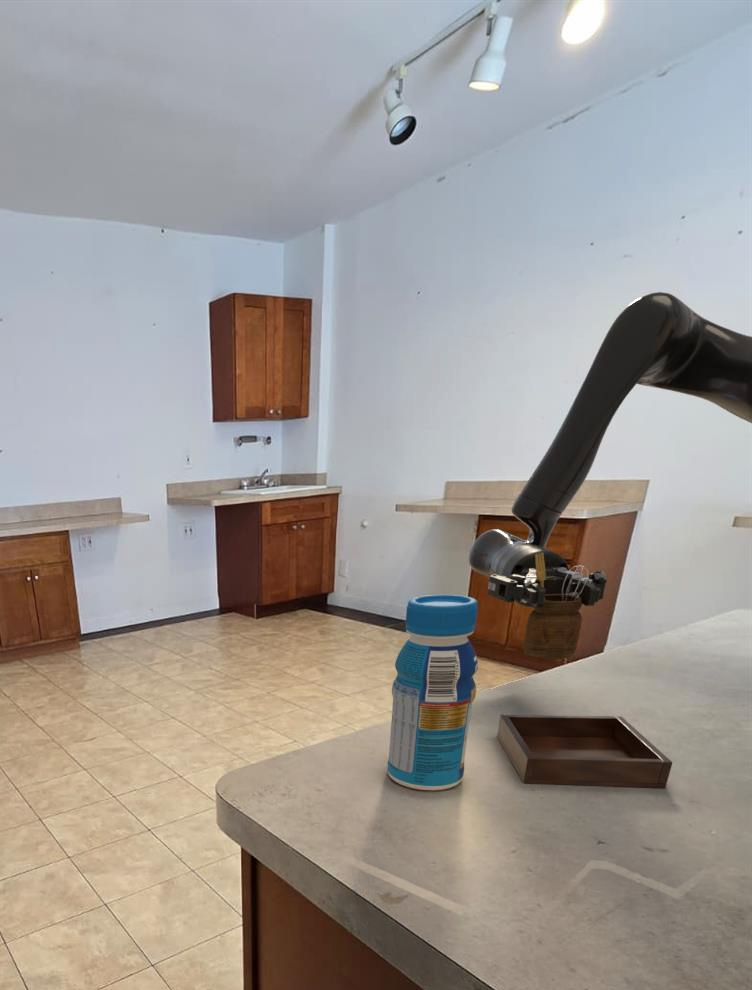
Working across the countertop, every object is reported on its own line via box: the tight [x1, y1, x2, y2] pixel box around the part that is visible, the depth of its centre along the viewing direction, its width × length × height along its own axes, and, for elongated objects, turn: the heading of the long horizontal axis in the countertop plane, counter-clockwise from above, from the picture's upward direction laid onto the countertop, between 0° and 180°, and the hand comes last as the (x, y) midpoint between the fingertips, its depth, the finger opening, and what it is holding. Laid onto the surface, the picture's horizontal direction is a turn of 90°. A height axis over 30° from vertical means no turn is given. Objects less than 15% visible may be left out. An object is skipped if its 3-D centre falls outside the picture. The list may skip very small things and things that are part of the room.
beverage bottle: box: [386, 594, 479, 791], centre depth 69 cm, size 8×8×20 cm
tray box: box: [496, 714, 673, 789], centre depth 74 cm, size 14×14×3 cm
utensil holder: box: [522, 553, 590, 660], centre depth 78 cm, size 6×6×12 cm
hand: (566, 597), depth 75 cm, fingers closed on utensil holder, 5 cm apart
